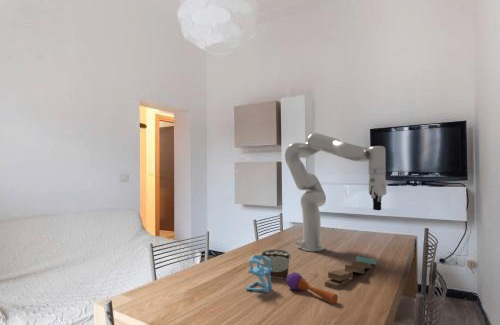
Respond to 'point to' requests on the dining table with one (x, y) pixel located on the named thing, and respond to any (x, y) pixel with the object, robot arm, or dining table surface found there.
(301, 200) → the robot arm
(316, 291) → the purple and orange maraca
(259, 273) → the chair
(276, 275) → the food container
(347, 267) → the domino
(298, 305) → the dining table surface
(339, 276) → the domino
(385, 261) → the dining table surface
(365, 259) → the teal domino
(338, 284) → the domino
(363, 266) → the domino
